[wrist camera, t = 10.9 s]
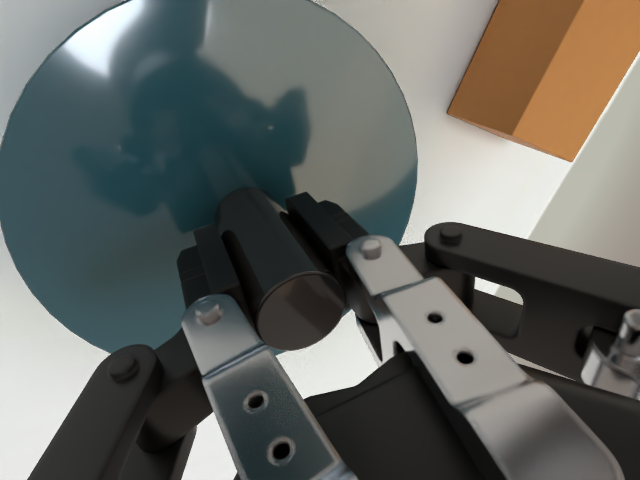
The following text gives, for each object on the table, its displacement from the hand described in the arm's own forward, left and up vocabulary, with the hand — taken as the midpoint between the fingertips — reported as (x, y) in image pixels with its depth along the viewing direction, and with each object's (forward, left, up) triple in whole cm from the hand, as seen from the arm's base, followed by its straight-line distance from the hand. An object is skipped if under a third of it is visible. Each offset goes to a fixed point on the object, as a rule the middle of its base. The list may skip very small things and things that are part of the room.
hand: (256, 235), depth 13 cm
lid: (0, 0, -2) cm, 2 cm away
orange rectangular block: (-3, +15, -4) cm, 15 cm away
